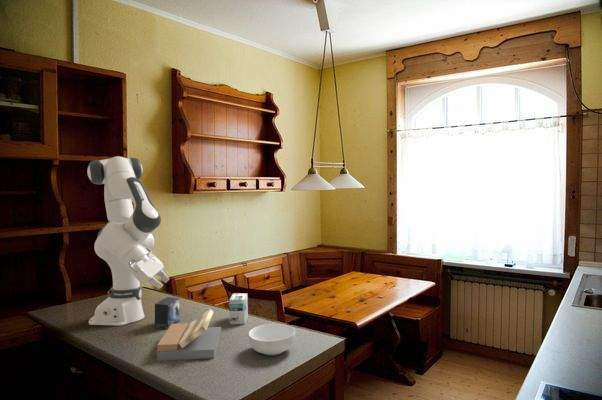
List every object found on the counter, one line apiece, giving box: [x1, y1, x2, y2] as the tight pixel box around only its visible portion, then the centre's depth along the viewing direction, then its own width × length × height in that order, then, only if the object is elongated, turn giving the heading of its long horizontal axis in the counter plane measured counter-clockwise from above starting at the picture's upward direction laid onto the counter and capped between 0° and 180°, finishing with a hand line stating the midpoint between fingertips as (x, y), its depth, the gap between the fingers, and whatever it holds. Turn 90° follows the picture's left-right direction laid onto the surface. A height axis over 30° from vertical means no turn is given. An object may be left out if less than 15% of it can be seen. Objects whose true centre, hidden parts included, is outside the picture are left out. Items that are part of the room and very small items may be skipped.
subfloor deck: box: [156, 322, 222, 362], centre depth 147 cm, size 19×22×5 cm
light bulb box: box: [228, 292, 249, 325], centre depth 175 cm, size 11×7×11 cm, turn 0°
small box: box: [154, 296, 181, 330], centre depth 171 cm, size 11×6×10 cm, turn 168°
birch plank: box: [179, 308, 214, 348], centre depth 147 cm, size 10×20×2 cm
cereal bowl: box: [248, 323, 297, 356], centre depth 143 cm, size 17×17×7 cm
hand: (164, 284), depth 146 cm, fingers open, 8 cm apart
